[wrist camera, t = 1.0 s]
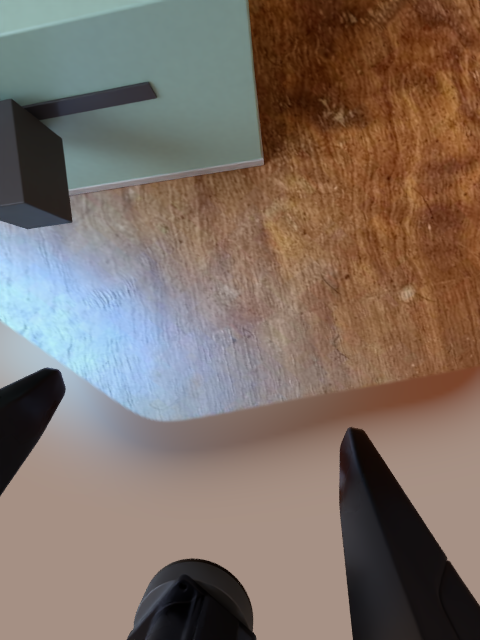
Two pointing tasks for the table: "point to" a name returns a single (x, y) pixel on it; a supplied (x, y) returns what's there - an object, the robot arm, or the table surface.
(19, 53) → the toaster
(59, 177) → the slider
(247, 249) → the table surface
